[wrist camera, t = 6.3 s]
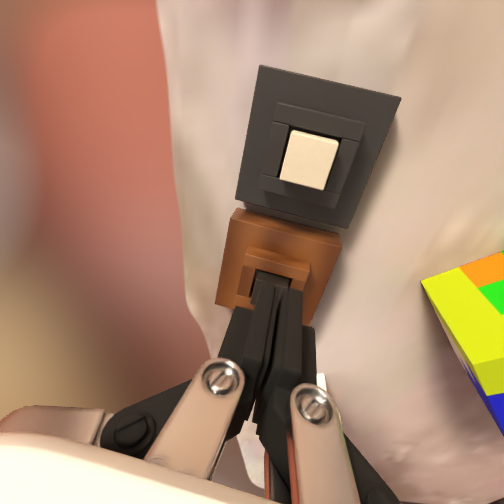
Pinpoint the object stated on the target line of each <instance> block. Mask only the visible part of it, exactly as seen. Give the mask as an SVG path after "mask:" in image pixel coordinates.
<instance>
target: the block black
mask: <svg viewBox="0 0 504 504" xmlns="http://www.w3.org/2000/svg"><path fill="white" fill-rule="evenodd" d="M400 101H401V97H398V96H393V95H389V94H385V93H380V92H376V91H372V90H367V89H363V88H359V87H355V86H350V85H346V84H342V83H337V82H333V81H329V80H324V79H320V78H316V77H312V76H307V75H303V74H299V73H294V72H290V71H286V70H281V69H277V68H273V67H268V66H264V65H259V70H258V75H257V81H256V86H255V92H254V97H253V103H252V108H251V114H250V119H249V125H248V130H247V135H246V141H245V146H244V152H243V157H242V163H241V168H240V174H239V179H238V185H237V190H236V196H235V199H236V200H240V201H244V202H247V203H251V204H255V205H259V206H263V207H266V208H270V209H274V210H278V211H282V212H286V213H289V214H293V215H297V216H301V217H305V218H309V219H312V220H316V221H320V222H324V223H328V224H332V225H335V226H339V227H343V228H348V227H349V224H350V222H351V220H352V217H353V215H354V212H355V210H356V207H357V205H358V203H359V200H360V198H361V195H362V193H363V191H364V188H365V186H366V183H367V181H368V178H369V176H370V174H371V171H372V169H373V166H374V164H375V162H376V159H377V157H378V154H379V152H380V150H381V147H382V145H383V142H384V140H385V137H386V135H387V133H388V130H389V128H390V125H391V123H392V121H393V118H394V116H395V113H396V111H397V108H398V106H399V104H400ZM293 130H296V131H300V132H304V133H308V134H312V135H316V136H321V137H325V138H329V139H333V140H336V141H337V142H338V143H339V146H338V149H337V152H336V155H335V158H334V161H333V164H332V166H331V169H330V172H329V175H328V178H327V181H326V184H325V187H324V190H319V189H315V188H311V187H307V186H303V185H299V184H295V183H291V182H287V181H283V180H280V174H281V170H282V166H283V162H284V158H285V154H286V150H287V147H288V143H289V139H290V135H291V132H292V131H293Z"/></svg>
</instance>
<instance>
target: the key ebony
mask: <svg viewBox="0 0 504 504" xmlns="http://www.w3.org/2000/svg"><path fill="white" fill-rule="evenodd" d="M262 280H265V281H269V282H273V283H275V287H277V288H279V296H278V303H279V300H280V297H281V294H282V291H283V289H284V290H288V283H289V279H288V278H285V277H282V276H278V275H274V274H271V273H267V272H263V271H260V270H259V271H258V274H257V277H256V281H255V285H254V289H253V292H252V296H251V300H250V304H251V305H255V304H256V300H257V297H258V293H259V290H260V286H261V283H262ZM278 303H277V306H278Z"/></svg>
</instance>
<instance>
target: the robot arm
mask: <svg viewBox="0 0 504 504" xmlns="http://www.w3.org/2000/svg"><path fill="white" fill-rule="evenodd" d="M278 296H279V288H277V287H275V283H273V282H269V281H265V280H262V283H261V286H260V290H259V293H258V297H257V300H256V304H255V307H254V311H253V310H249V309H246V308H242V307H239V306H235V309H234V312H233V314H232V317H231V320H230V323H229V326H228V329H227V332H226V334H225V337H224V340H223V343H222V346H221V349H220V352H219V354H218V357H217V358H213V359H210V360H208V361H206V362H205V363H203V365H202V366H201V367H200V368H199V370H198V372H197V373H196V375H195V376H194V378H193V379H191V380H189V381H187V382H185V383H182V384H180V385H178V386H175V387H173V388H171V389H168V390H166V391H164V392H161V393H159V394H157V395H154V396H152V397H150V398H147V399H145V400H143V401H140V402H138V403H136V404H133V405H131V406H129V407H127V408H124V409H122V410H121V411H119V412H117V413H105V409H94V408H75V407H57V406H38V405H34V406H25V407H23V408H20V409H17V410H15V411H13V412H12V413H10V414H9V415H7V416H6V417H4V418H3V419H2V420H1V421H0V504H401V503H400V501H399V500H398V498H397V497H396V495H395V494H394V493H393V491H392V490H391V489H390V488H389V487H388V485H387V484H386V483H385V482H384V481H383V479H382V478H381V477H380V476H379V475H378V473H377V472H376V471H375V470H374V469H373V467H372V466H371V465H370V464H369V463H368V461H367V460H366V459H365V458H364V457H363V455H362V454H361V453H360V452H359V451H358V449H357V448H356V447H355V446H354V445H353V443H352V442H351V441H350V440H349V439H348V437H347V436H346V435H345V434H344V433H343V430H342V426H341V422H340V418H339V414H338V410H337V407H336V404H335V402H334V400H333V399H332V398H331V396H330V395H329V394H328V393H327V392H326V391H325V390H324V389H322V388H320V387H319V386H317V370H316V345H315V329H314V328H312V327H309V326H305V325H302V312H303V291H301V290H297V289H294V288H290V287H289V289H288V290H284V289H283V291H282V294H281V297H280V300H279V303H278ZM277 303H278V306H277ZM255 399H256V401H255ZM254 402H255V407H254V413H253V419H252V422H253V423H256V424H257V429H256V435H259V440H260V441H261V443H262V445H263V446H264V448H265V455H264V480H265V498H262V497H259V496H256V495H252V494H249V493H246V492H243V491H240V490H237V489H234V488H230V487H227V486H224V485H221V484H218V483H215V482H211V480H212V477H213V474H214V472H215V470H216V467H217V464H218V462H219V459H220V457H221V454H222V452H223V449H224V447H225V444H226V441H228V440H229V439H231V438H233V437H234V436H236V435H237V434H239V433H240V431H241V428H242V426H243V423H244V420H246V421H248V418H249V416H250V413H251V410H252V408H253V405H254Z"/></svg>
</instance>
